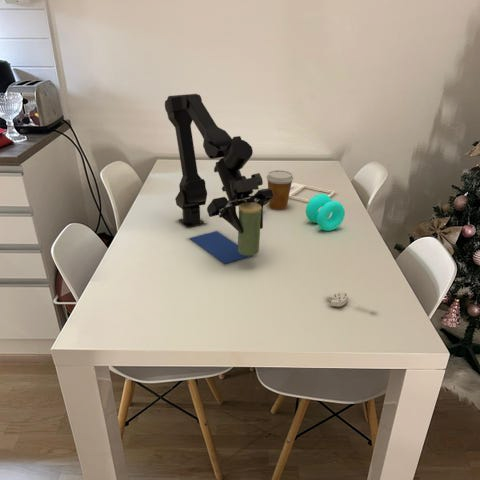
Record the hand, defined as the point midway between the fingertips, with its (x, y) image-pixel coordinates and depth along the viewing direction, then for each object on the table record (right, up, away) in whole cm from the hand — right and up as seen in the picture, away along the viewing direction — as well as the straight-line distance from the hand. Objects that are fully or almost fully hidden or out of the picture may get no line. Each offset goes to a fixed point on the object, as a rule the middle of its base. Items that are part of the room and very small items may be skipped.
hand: (251, 230), depth 133 cm
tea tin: (-1, -5, +5) cm, 7 cm away
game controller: (+24, -21, -9) cm, 34 cm away
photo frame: (+22, +24, +57) cm, 66 cm away
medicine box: (+2, +12, +39) cm, 41 cm away
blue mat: (-9, -2, +17) cm, 19 cm away
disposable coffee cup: (+11, +17, +46) cm, 50 cm away
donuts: (+25, +7, +32) cm, 41 cm away
